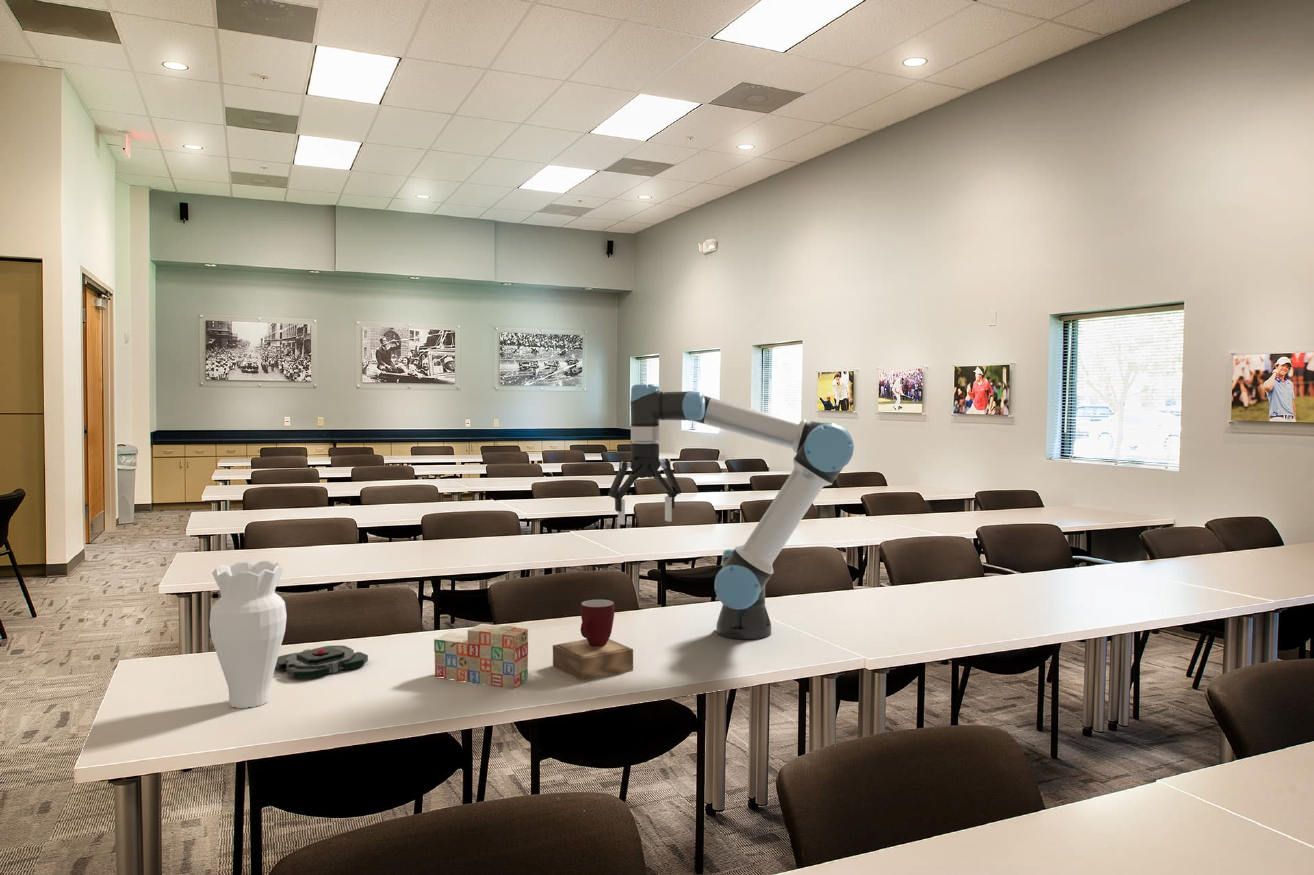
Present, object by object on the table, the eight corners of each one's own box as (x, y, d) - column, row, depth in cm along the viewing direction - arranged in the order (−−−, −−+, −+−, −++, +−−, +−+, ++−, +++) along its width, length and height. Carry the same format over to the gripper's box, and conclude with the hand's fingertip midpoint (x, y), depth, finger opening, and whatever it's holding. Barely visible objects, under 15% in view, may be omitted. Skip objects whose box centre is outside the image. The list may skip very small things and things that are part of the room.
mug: (601, 653, 196) (601, 610, 195) (570, 650, 199) (570, 607, 198) (619, 641, 205) (619, 601, 205) (590, 638, 208) (589, 598, 208)
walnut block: (602, 655, 212) (602, 635, 211) (633, 670, 200) (633, 648, 200) (552, 665, 204) (552, 644, 203) (581, 681, 192) (581, 658, 192)
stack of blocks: (433, 678, 195) (433, 626, 194) (449, 670, 200) (449, 619, 200) (514, 689, 187) (514, 634, 186) (528, 681, 193) (528, 627, 192)
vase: (237, 719, 169) (234, 575, 168) (196, 706, 177) (193, 568, 176) (302, 698, 181) (300, 563, 180) (261, 686, 189) (259, 557, 188)
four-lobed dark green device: (373, 667, 204) (373, 649, 204) (299, 685, 191) (299, 665, 191) (339, 652, 216) (338, 635, 216) (267, 668, 203) (267, 650, 203)
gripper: (680, 441, 232) (680, 518, 233) (595, 443, 221) (596, 523, 222) (693, 442, 225) (693, 521, 226) (606, 444, 215) (606, 527, 215)
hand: (645, 522), depth 224 cm, fingers open, 13 cm apart
